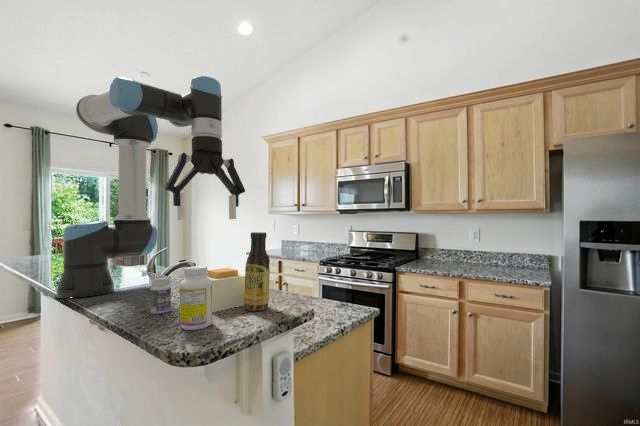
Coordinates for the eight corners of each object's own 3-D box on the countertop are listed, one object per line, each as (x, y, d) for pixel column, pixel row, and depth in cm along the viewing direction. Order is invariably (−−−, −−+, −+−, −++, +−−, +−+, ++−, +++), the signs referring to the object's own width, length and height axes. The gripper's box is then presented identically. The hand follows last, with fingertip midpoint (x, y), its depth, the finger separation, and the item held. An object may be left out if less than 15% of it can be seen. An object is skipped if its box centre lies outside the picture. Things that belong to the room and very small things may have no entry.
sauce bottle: (239, 311, 81) (239, 232, 82) (252, 305, 87) (251, 231, 88) (263, 313, 79) (262, 232, 80) (274, 306, 85) (273, 231, 86)
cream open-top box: (194, 303, 89) (194, 272, 90) (227, 297, 96) (227, 268, 96) (212, 312, 81) (212, 278, 81) (248, 305, 87) (248, 273, 87)
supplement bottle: (195, 319, 75) (195, 264, 75) (218, 322, 73) (218, 265, 73) (172, 329, 69) (172, 268, 69) (197, 332, 66) (197, 270, 67)
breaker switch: (207, 279, 88) (207, 270, 88) (227, 276, 92) (227, 267, 92) (216, 282, 84) (216, 272, 84) (237, 279, 88) (237, 270, 88)
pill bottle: (159, 314, 79) (159, 280, 80) (146, 312, 81) (146, 279, 82) (175, 309, 84) (174, 277, 84) (162, 308, 86) (162, 276, 86)
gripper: (159, 126, 73) (160, 219, 73) (256, 142, 90) (257, 218, 89) (150, 133, 79) (151, 220, 78) (243, 147, 95) (245, 219, 95)
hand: (208, 219), depth 84 cm, fingers open, 13 cm apart
